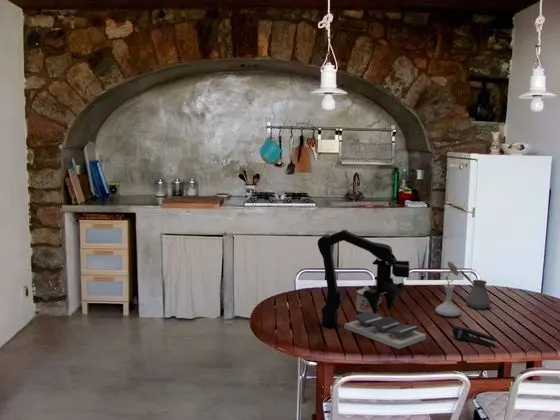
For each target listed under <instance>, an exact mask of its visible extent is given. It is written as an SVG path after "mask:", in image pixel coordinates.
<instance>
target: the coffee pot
mask: <svg viewBox="0 0 560 420" xmlns="http://www.w3.org/2000/svg"><path fill="white" fill-rule="evenodd" d="M459 272H460V273H458V274H459V275H460V274H462V275H463V277H464V278H465V279H466V280H468V281H469V282H470V283H471V285H472V287H471V290H470V291H469V293H468V295H467V297H466V299H465V302H466V304H467V305H468V306H469V307H470V308H471V309H475V310H485V309H487V308H489V307H490V305H491V304H492V303H491V299H490V297H489V293H488V291H487V287H486V285H487V283H488V282H487V281H486V280H481V279H474V280H471V278H470V277H469V276H468V275H467V274H465V272H464V271H462V269H461V270H459Z"/></svg>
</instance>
